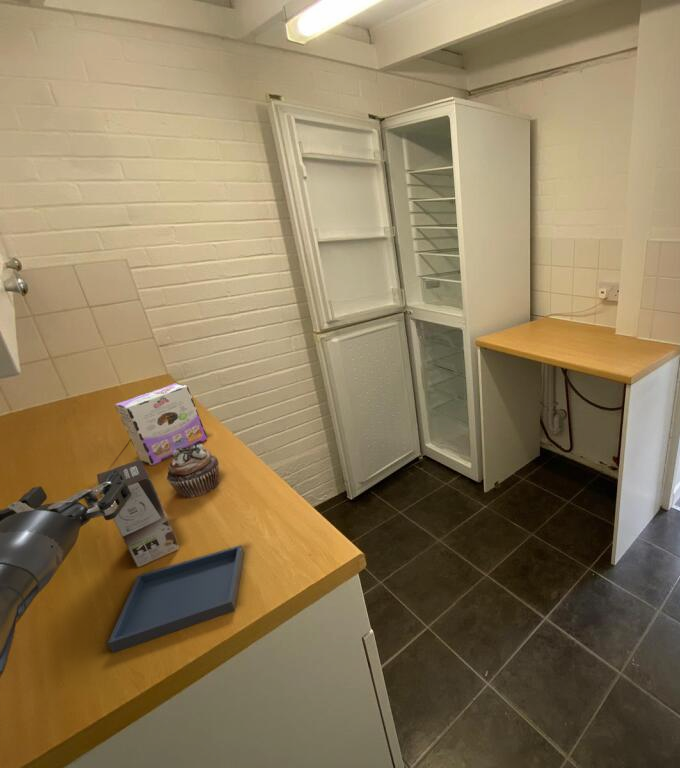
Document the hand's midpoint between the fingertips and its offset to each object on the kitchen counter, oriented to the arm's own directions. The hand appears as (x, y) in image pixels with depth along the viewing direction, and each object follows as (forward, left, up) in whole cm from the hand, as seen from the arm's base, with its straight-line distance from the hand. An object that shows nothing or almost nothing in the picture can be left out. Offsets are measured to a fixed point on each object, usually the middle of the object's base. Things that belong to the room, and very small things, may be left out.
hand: (79, 483), depth 61 cm
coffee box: (0, +11, -22) cm, 25 cm away
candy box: (-5, +52, -22) cm, 56 cm away
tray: (+8, -5, -22) cm, 24 cm away
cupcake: (+4, +29, -22) cm, 37 cm away
